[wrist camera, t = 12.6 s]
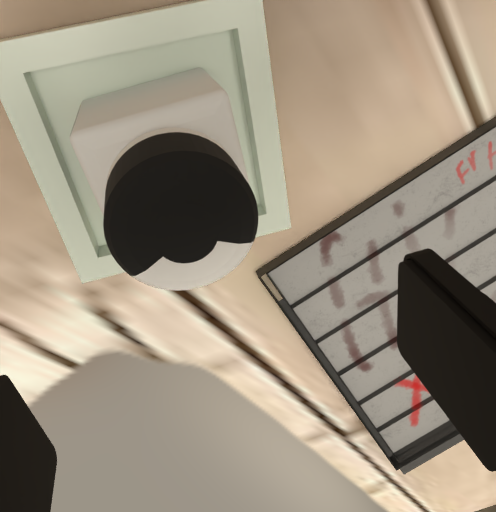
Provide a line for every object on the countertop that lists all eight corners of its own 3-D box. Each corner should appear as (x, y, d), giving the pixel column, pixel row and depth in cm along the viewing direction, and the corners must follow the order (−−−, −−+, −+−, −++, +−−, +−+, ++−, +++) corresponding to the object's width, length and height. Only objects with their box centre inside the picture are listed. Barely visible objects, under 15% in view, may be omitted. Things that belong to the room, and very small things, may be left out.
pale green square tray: (249, -11, 25) (261, -11, 23) (280, 212, 33) (291, 228, 31) (-11, 41, 24) (-24, 46, 22) (84, 263, 31) (82, 283, 29)
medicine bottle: (78, 100, 25) (50, 176, 15) (203, 65, 26) (256, 115, 16) (125, 212, 29) (128, 333, 19) (232, 179, 30) (290, 279, 19)
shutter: (245, 241, 40) (386, 443, 53) (257, 278, 34) (413, 497, 47) (588, 26, 36) (648, 304, 49) (674, 24, 30) (716, 342, 43)
